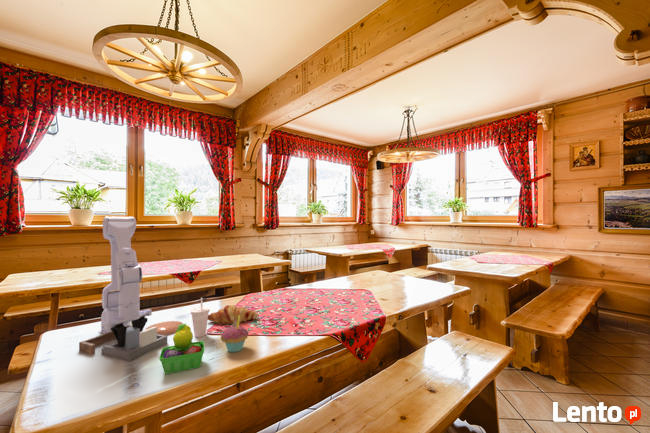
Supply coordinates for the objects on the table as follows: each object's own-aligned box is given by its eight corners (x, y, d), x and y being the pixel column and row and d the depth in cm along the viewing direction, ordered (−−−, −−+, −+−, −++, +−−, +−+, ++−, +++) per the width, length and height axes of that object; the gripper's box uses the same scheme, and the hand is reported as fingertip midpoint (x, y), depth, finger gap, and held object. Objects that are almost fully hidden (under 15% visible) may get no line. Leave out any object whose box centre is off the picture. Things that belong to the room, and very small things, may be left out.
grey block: (117, 349, 93) (117, 331, 93) (131, 343, 97) (131, 326, 97) (126, 351, 91) (126, 333, 91) (139, 345, 95) (139, 328, 95)
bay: (79, 351, 91) (79, 342, 91) (128, 333, 106) (128, 325, 106) (91, 355, 89) (91, 345, 89) (140, 335, 103) (140, 327, 103)
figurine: (242, 335, 103) (241, 318, 104) (229, 337, 101) (228, 320, 102) (241, 332, 108) (240, 316, 109) (229, 334, 106) (228, 318, 107)
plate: (136, 334, 105) (136, 330, 105) (167, 322, 117) (167, 319, 117) (161, 339, 100) (161, 336, 100) (190, 326, 112) (190, 323, 112)
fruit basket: (158, 378, 76) (158, 336, 76) (162, 362, 84) (163, 324, 84) (204, 368, 80) (204, 329, 81) (204, 355, 89) (204, 319, 89)
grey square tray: (101, 353, 89) (101, 331, 89) (141, 337, 101) (141, 318, 101) (128, 361, 84) (129, 337, 84) (167, 343, 96) (167, 322, 96)
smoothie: (202, 340, 100) (202, 300, 100) (186, 338, 101) (186, 299, 101) (213, 333, 106) (213, 295, 106) (198, 331, 107) (198, 294, 107)
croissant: (258, 324, 124) (258, 306, 127) (257, 321, 115) (258, 301, 119) (207, 327, 119) (209, 308, 123) (202, 324, 111) (205, 303, 114)
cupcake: (253, 345, 95) (253, 309, 95) (237, 357, 87) (237, 318, 87) (232, 341, 98) (232, 307, 98) (215, 352, 90) (215, 315, 90)
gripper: (114, 310, 86) (113, 355, 86) (157, 298, 99) (157, 336, 99) (99, 307, 89) (99, 351, 88) (144, 296, 102) (143, 333, 102)
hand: (129, 343), depth 94 cm, fingers closed on grey block, 4 cm apart
